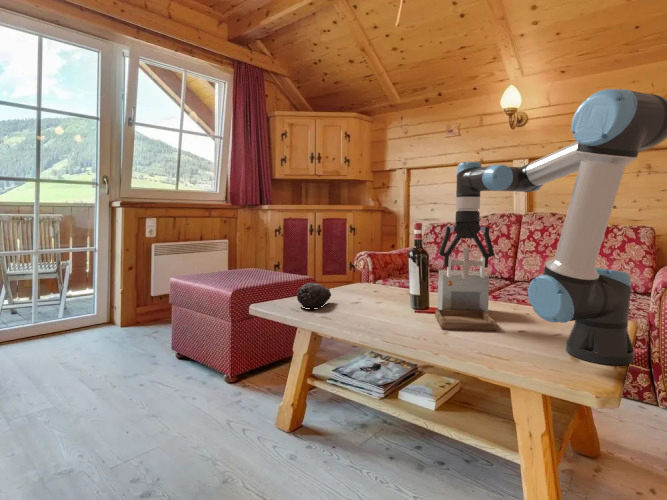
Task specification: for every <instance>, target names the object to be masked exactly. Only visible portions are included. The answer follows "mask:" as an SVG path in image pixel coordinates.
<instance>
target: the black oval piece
mask: <svg viewBox="0 0 667 500" xmlns="http://www.w3.org/2000/svg"><path fill="white" fill-rule="evenodd" d="M330 291H331V290H330V288H326V286H324V285H323V284H320V283H315V282H308V283H305V284H303V285H302V286H301V287H300V286H299V288H298V290H297V293H296V299H297V301H298V303H299V304H300V305H301V306H303V307H305V308H310V309H314V308H319V307H321V306H323V305H324V304H325V303H327V302H328V300H330V298H331V296H332V293H331V292H330Z"/></svg>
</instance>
